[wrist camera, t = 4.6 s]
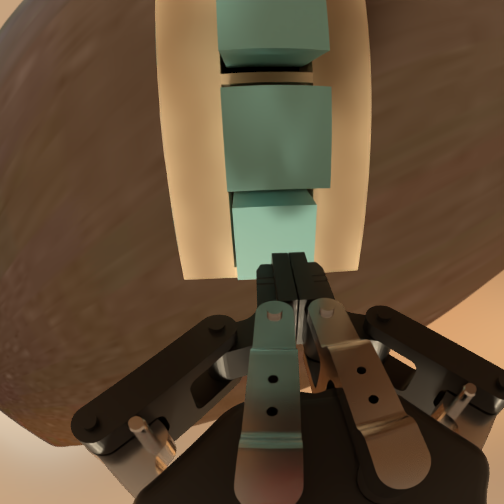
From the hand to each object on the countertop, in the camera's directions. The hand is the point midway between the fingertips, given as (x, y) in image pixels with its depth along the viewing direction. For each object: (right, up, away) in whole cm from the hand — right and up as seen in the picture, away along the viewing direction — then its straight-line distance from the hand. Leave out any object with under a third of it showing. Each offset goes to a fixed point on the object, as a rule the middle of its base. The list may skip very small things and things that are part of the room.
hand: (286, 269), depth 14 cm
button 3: (0, +4, +8) cm, 9 cm away
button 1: (-1, +14, 0) cm, 14 cm away
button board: (-1, +9, +5) cm, 11 cm away
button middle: (-1, +8, +3) cm, 9 cm away
